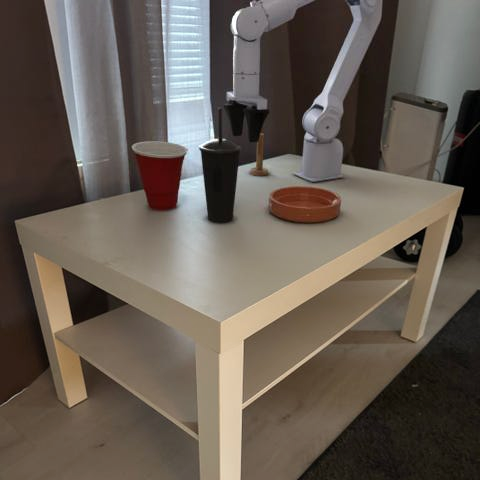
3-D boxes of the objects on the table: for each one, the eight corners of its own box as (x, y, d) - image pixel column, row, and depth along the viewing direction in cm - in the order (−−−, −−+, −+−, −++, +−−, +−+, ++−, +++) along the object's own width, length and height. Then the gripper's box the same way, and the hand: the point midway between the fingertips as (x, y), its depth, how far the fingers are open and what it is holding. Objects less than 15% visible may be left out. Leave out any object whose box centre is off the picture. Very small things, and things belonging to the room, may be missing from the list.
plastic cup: (181, 217, 94) (178, 154, 88) (129, 212, 96) (122, 150, 90) (196, 200, 104) (194, 141, 97) (148, 196, 105) (143, 138, 99)
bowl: (311, 197, 107) (312, 183, 105) (353, 217, 96) (355, 201, 94) (255, 206, 100) (256, 191, 99) (294, 229, 90) (296, 212, 88)
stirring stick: (262, 170, 125) (263, 131, 120) (271, 174, 122) (273, 134, 117) (247, 172, 123) (248, 133, 118) (256, 176, 120) (257, 136, 115)
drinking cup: (247, 221, 93) (251, 109, 83) (214, 228, 89) (213, 113, 79) (225, 209, 99) (226, 103, 88) (193, 216, 95) (189, 106, 84)
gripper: (214, 71, 109) (215, 134, 116) (247, 77, 98) (246, 146, 105) (241, 70, 112) (241, 131, 119) (276, 75, 101) (273, 143, 108)
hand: (245, 138), depth 112 cm, fingers open, 7 cm apart
